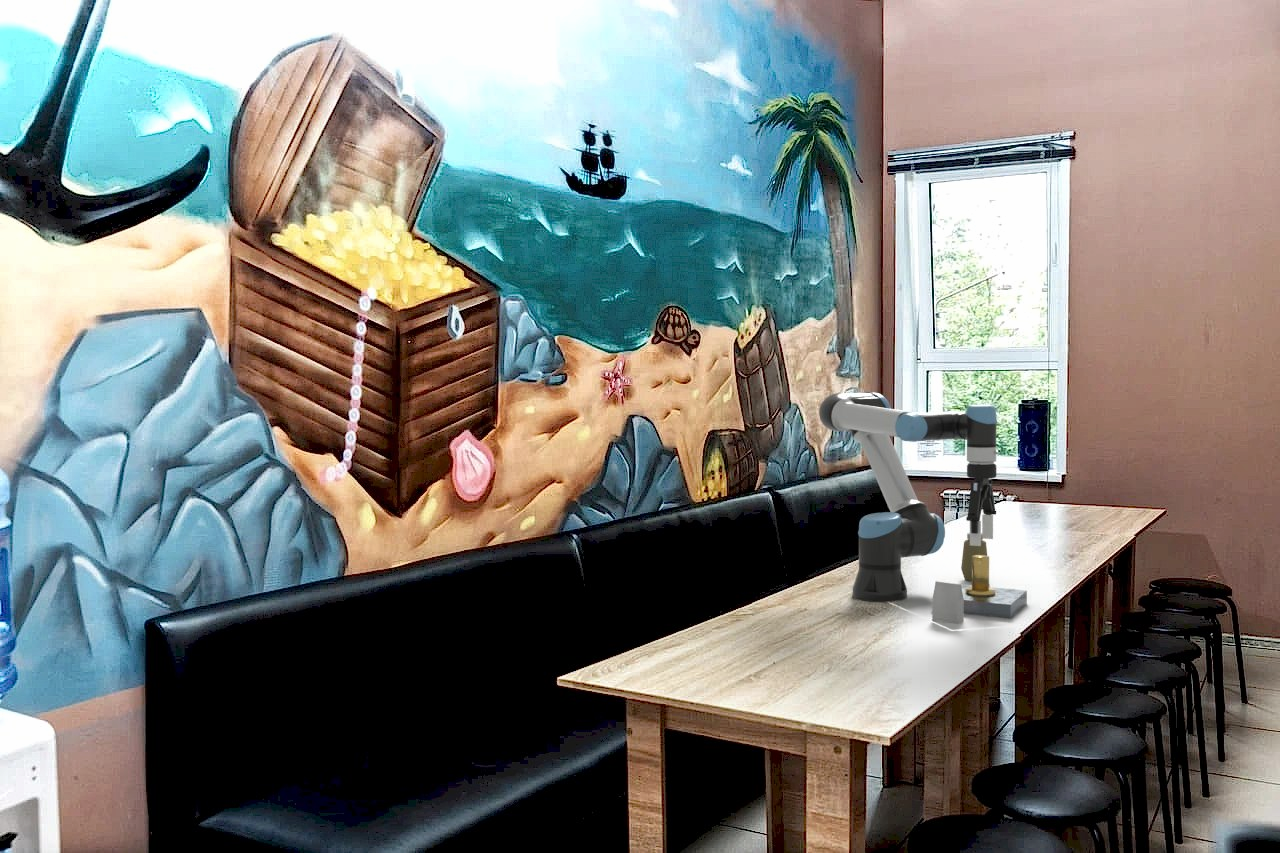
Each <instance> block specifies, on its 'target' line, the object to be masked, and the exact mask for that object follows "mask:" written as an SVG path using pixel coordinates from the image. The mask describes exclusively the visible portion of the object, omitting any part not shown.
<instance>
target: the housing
mask: <svg viewBox="0 0 1280 853" xmlns="http://www.w3.org/2000/svg"><path fill="white" fill-rule="evenodd" d="M960 584H961V583H960ZM961 587H962V593H963V598H964V615H971V616H983V617H988V618H990V617H993V618H1001V619H1007V620H1008V619H1009V620H1011V619H1012V618H1013V617H1014V616H1015V615H1017V614H1018V613H1019V611H1021V610H1022V609H1023V608H1025V606H1026V605H1027V603H1028V601H1027V600H1028V591H1027V590H1024V589H1016V588H1005V587H994V586H989V588H991V589H994V590H995V595H994V596H989V597H980V596H971V595H968V594H966V588H970V587H972V584H961Z"/></svg>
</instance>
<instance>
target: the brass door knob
mask: <svg viewBox="0 0 1280 853" xmlns="http://www.w3.org/2000/svg"><path fill="white" fill-rule="evenodd" d="M971 585H972V587H970V588H966V594H968V595H971V596H980V597H989V596H994V595H995V590H994V589H991V588H989V587H990V556H988V555H987V556H983V555H975V556H972V582H971Z"/></svg>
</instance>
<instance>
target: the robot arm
mask: <svg viewBox="0 0 1280 853" xmlns="http://www.w3.org/2000/svg"><path fill="white" fill-rule="evenodd" d="M818 414H819V415H818V416H819V420H820V422H821V423H822V425H823V426H825V427H826V428H827V429H828V430H830V431H834V432H850V434H851V436H852V438H853V440H854V442H855V443H858V444H860V445H861V447H862V449H863V452H864V454H865V456H866V458H867V461H868V463H869V466H870V468H871V469H872V472H873V474H874V477H875V478H876V482H877V484H878V487H879V488H880V491H881V493H882V496H883V498H884V500H885V502H886V504H887V508H888V509H889V511H890V512H889V511H885V512H884V511H883V512H875V513H874V512H873V513H870V514H867V515H864V516H863V517H861V519H860V520H859V522H858V523H859V524H858V531H857V534H858V570H857V574H856V577H855V579H854V582H853V586H852V597H853V598H854V599H857V600H861V601H866V602H875V603H890V602H895V601H896V602H897V601H902V600H905V599H907V598H908V588H907V585H906V583H905V578H904V576H903V572H902V558H911V557H912V558H913V557H919V556H920V557H921V556H922V557H924V556H927V555H932V554H934V553H937V552H938V551H939V550H940V549H941V548H942V546H943V545H944V541H945V540H944V539H945V538H946V528H945V524H944V521H943V520H942V517H941V516H939V515H937V514H936V513H933V512H930V510H929V508H928V507H927V505H926V502H922V501H919V499H918V497H917V495H916V493H915V490H914V488H913V486H912V484H911V482H910V479H909V476H908V474H907V473H906V470H905V467H904V466H903V464H902V462H901V460H900V457H899V455H898V452H897V450H896V449H895V446H894V444H893V442H892V439H891V437H895V438H899V439H900V440H901V441H904V442H909V443H911V442H912V443H913V442H914V443H915V442H916V443H917V442H921V441H922V442H923V441H945V440H965V441H966V461H967V465H966V476H967V477H968V478H970V479H974V482H971V483H970V492H969V500H968V510H967V516H966V518H965V519H966V521H967V522H969V533H970V545H971V546H981V533H982V538H983V539H982V540H984V539H985V540H993V539H994V516H995V515H996V514H997V510H996V507H995V506H996V505H995V498H994V490H993V479H995V478H996V477H997V464H996V463H995V462H997V455H999V454H1000V453H999V450H997V429H998V428H997V424H998V420H997V409H996V407H995V406H994V405H991V404H970V405H967V407H966V412H963V411H951V410H945V411H944V410H943V411H940V412H939V411H937V412H936V411H935V412H914V411H910V410H909V411H908V410H901V409H894V408H892V407H891V404H890V402H889V401H888V400H887V398H886V397H885V396H883V395H882V394H881V393H878V392H871V391H861V392H835V393H833V394H830V395H829V396H827V397H825V398H824V400H822V402H821V404H820V406H819V410H818ZM982 513H983V514H982ZM981 514H982V515H981ZM981 516H982V519H981Z"/></svg>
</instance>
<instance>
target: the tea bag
mask: <svg viewBox="0 0 1280 853" xmlns="http://www.w3.org/2000/svg"><path fill="white" fill-rule="evenodd" d="M931 600H932V611H931V612H932V613H931V614H932V617H931V619H932V621H939V622H946V623H953V624H960V623H961V622H964V615H965V614H964V598H963V593H962V587H961V583H960V584H959V583H951V582H944V581H937V580H936V581H935V582H934V589H933V594H932V599H931Z"/></svg>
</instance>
